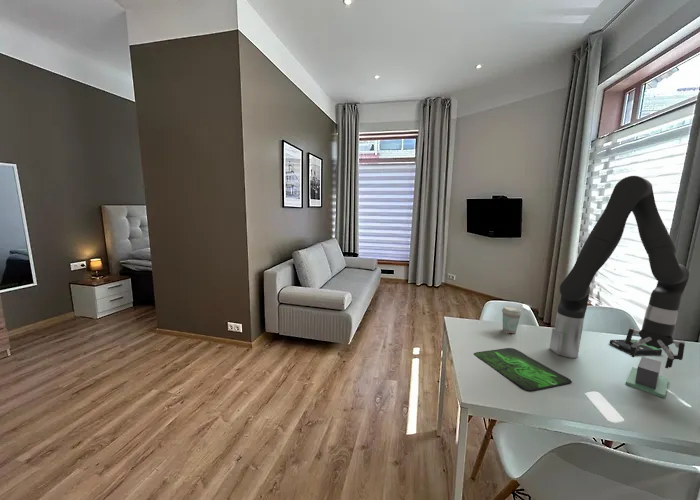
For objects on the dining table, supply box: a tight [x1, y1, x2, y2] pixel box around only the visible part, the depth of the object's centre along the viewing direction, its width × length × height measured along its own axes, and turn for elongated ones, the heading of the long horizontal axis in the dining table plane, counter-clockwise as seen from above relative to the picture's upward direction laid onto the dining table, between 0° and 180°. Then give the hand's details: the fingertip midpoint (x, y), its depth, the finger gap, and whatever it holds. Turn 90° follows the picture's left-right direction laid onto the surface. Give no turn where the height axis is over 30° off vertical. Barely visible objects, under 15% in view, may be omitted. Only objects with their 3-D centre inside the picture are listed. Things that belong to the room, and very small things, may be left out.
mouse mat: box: [473, 347, 573, 392], centre depth 113 cm, size 27×22×1 cm
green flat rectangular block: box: [625, 366, 669, 399], centre depth 105 cm, size 10×16×2 cm, turn 130°
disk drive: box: [608, 339, 663, 356], centre depth 131 cm, size 10×3×15 cm
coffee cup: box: [501, 305, 523, 334], centre depth 145 cm, size 8×8×12 cm
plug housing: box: [635, 356, 662, 389], centre depth 105 cm, size 5×12×6 cm, turn 130°
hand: (649, 362), depth 104 cm, fingers open, 8 cm apart
